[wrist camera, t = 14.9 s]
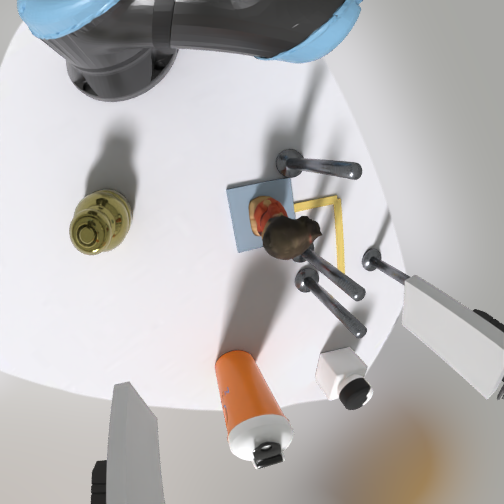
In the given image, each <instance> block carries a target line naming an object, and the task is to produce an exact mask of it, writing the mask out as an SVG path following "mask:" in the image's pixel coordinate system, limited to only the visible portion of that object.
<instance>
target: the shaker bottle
mask: <svg viewBox="0 0 504 504" xmlns="http://www.w3.org/2000/svg"><path fill="white" fill-rule="evenodd" d="M215 371H216V377H217V382H218V387H219V392H220V398H221V403H222V408H223V412H224V417H225V422H226V427H227V431H228V437H227V440H228V443H229V446H230V449H231V452H232V453H233V454H235V455H236V456H238V457H239V458H241V459H244V460H250V461H252V462H253V465H254V467H255V468H256V469H260V468H263V467H267V466H270V465H273V464H277V463H280V462H283V461H284V460H285V458H284V454H283V452H282V451H284V450H285V449H286V448H287V447H288V446H289V444H290V443H291V441H292V439H293V435H294V431H293V428H292V426H291V424H290V422H289V420H288V419H287V418H286V417H285V416H284V414H283V413H282V411H281V409H280V407H279V405H278V403H277V402H276V400H275V398H274V396H273V394H272V392H271V391H270V389H269V387H268V385H267V383H266V381H265V379H264V377H263V376H262V374H261V372H260V370H259V368H258V366H257V364H256V362H255V360H254V358H253V357H252V356H251V355H250V354H249V353H247V352H245V351H240V350H236V351H230V352H227V353H225V354H224V355H222V356H221V357H220V358H219V359H218V360H217V362H216V365H215ZM257 467H258V468H257Z"/></svg>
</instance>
